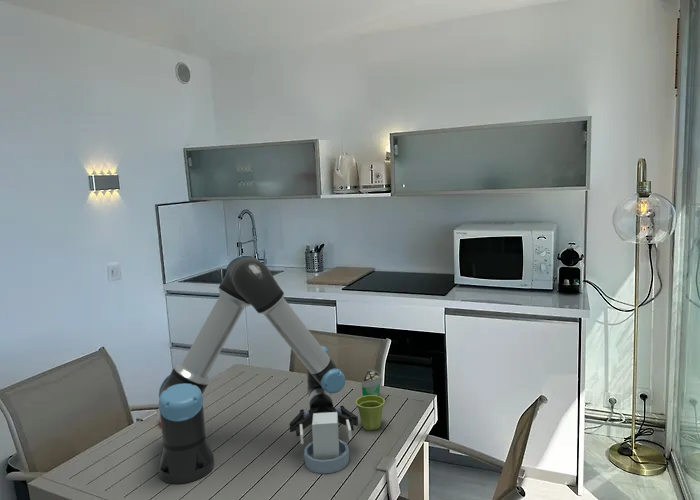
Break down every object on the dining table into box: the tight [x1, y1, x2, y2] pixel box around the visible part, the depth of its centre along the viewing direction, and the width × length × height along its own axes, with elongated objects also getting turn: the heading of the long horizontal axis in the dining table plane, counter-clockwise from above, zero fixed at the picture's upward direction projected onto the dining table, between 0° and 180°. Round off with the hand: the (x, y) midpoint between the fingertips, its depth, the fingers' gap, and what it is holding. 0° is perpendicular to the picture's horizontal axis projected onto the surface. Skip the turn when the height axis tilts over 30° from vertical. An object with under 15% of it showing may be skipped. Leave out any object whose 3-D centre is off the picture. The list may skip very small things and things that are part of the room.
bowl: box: [303, 439, 350, 475], centre depth 148 cm, size 13×13×4 cm
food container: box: [361, 368, 383, 396], centre depth 185 cm, size 12×6×10 cm, turn 168°
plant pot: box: [355, 395, 386, 431], centre depth 167 cm, size 9×9×9 cm
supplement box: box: [311, 412, 340, 460], centre depth 147 cm, size 7×7×13 cm
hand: (326, 437), depth 144 cm, fingers open, 13 cm apart
